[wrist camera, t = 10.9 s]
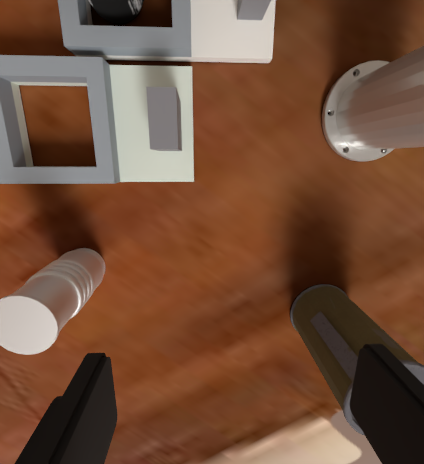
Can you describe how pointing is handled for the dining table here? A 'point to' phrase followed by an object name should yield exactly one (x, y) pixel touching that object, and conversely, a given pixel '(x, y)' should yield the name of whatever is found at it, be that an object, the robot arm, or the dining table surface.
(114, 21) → the beverage can
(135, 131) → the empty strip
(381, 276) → the dining table surface
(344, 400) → the canister
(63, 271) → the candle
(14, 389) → the dining table surface
